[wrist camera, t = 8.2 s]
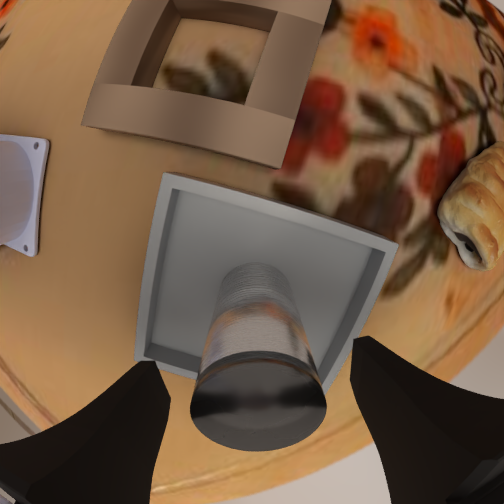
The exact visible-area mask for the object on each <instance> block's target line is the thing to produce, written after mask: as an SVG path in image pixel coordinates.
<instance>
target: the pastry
mask: <svg viewBox="0 0 504 504" xmlns="http://www.w3.org/2000/svg"><path fill="white" fill-rule="evenodd" d="M437 215H438V217H439V219H440V225H441V227H442V228H443V230H444V232H445V234H446V235H447V236H448V237H449V238H450V239H451V241H452V242H453V243H454V244H456V245H457V247H458V250H459V254H460V256H461V258H462V260H463V261H464V263H465V264H466V265H467V266H469V267H470V268H472V269H475V270H479V271H489V270H491V269H493V268H494V267H495V266H496V263H497V261H496V260H497V259H498V258H499V257H500V256H501V255H502V253H503V252H504V142H502V141H498V142H496V143H495V144H494V145H492V146H490V147H489V148H487V149H484V150H483V151H482V153H480V154H479V155H478V156H476V157H475V158H472V159H470V160H469V161H468V162H467V165H466V168H465V169H464V170H463V171H462V172H461V173H460V175H459V176H458V177H457V178H456V180H455V181H453V183H452V184H451V186H450V187H449V188H448V190H447V192H446V193H445V194H444V196H443V198H442V200H441V202H440V204H439V207H438V211H437Z"/></svg>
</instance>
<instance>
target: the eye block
mask: <svg viewBox="0 0 504 504" xmlns="http://www.w3.org/2000/svg"><path fill="white" fill-rule="evenodd" d="M330 4H331V0H132V1H131V3H130V5H129V7H128V8H127V10H126V12H125V14H124V16H123V18H122V20H121V21H120V23H119V25H118V27H117V29H116V32H115V34H114V36H113V38H112V40H111V42H110V44H109V47H108V49H107V51H106V53H105V56H104V58H103V61H102V63H101V66H100V68H99V71H98V73H97V76H96V79H95V81H94V84H93V87H92V90H91V93H90V96H89V99H88V102H87V105H86V109H85V112H84V115H83V119H82V122H81V125H82V126H87V127H91V128H96V129H101V130H106V131H112V132H119V133H125V134H131V135H136V136H142V137H147V138H152V139H158V140H162V141H167V142H172V143H177V144H181V145H186V146H190V147H194V148H199V149H203V150H207V151H211V152H215V153H219V154H223V155H227V156H231V157H234V158H238V159H242V160H245V161H249V162H252V163H256V164H259V165H263V166H266V167H269V168H273V169H281V166H282V162H283V159H284V156H285V153H286V149H287V146H288V143H289V139H290V136H291V133H292V130H293V126H294V123H295V120H296V116H297V113H298V110H299V107H300V103H301V100H302V97H303V93H304V90H305V87H306V83H307V80H308V77H309V73H310V70H311V67H312V64H313V60H314V57H315V54H316V50H317V47H318V44H319V40H320V37H321V34H322V30H323V27H324V24H325V20H326V17H327V14H328V10H329V7H330ZM181 18H191V19H201V20H210V21H217V22H224V23H230V24H236V25H241V26H246V27H251V28H256V29H260V30H265V31H269V32H270V34H269V36H268V39H267V42H266V44H265V47H264V50H263V53H262V55H261V58H260V61H259V64H258V67H257V70H256V72H255V75H254V78H253V81H252V84H251V87H250V90H249V93H248V96H247V99H246V102H245V105H241V104H237V103H233V102H228V101H224V100H219V99H215V98H210V97H205V96H200V95H195V94H189V93H184V92H178V91H171V90H164V89H157V88H152V86H153V83H154V80H155V78H156V75H157V72H158V70H159V67H160V65H161V62H162V60H163V57H164V55H165V52H166V50H167V48H168V45H169V43H170V41H171V39H172V36H173V34H174V32H175V30H176V28H177V26H178V23H179V21H180V19H181Z"/></svg>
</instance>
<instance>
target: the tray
mask: <svg viewBox="0 0 504 504" xmlns="http://www.w3.org/2000/svg"><path fill="white" fill-rule="evenodd" d="M398 246H399V244H397V243H395V242H393V241H391V240H390V239H388V238H386V237H384V236H382V235H379V234H377V233H374V232H371V231H369V230H366V229H363V228H360V227H357V226H355V225H352V224H349V223H346V222H343V221H340V220H337V219H334V218H331V217H329V216H326V215H323V214H320V213H317V212H313V211H310V210H307V209H304V208H301V207H298V206H295V205H292V204H288V203H285V202H282V201H279V200H275V199H272V198H269V197H265V196H262V195H259V194H255V193H252V192H248V191H245V190H241V189H238V188H234V187H230V186H227V185H223V184H219V183H216V182H212V181H208V180H204V179H201V178H197V177H193V176H189V175H185V174H181V173H177V172H163V176H162V180H161V185H160V189H159V193H158V197H157V202H156V206H155V211H154V216H153V221H152V226H151V231H150V236H149V241H148V247H147V253H146V259H145V265H144V271H143V278H142V285H141V293H140V301H139V309H138V318H137V328H136V340H135V353H134V360H135V361H137V362H140V361H155V362H156V364H157V367H158V369H161V370H164V371H167V372H171V373H174V374H177V375H181V376H184V377H188V378H191V379H195V380H197V375H198V371H199V367H200V363H201V359H202V355H203V351H204V347H205V343H206V339H207V335H208V331H209V327H210V323H211V319H212V316H213V312H214V308H215V304H216V300H217V296H218V293H219V289H220V285H221V283H222V281H223V279H224V278H225V276H226V275H227V274H228V273H229V272H230V271H231V270H233V269H234V268H236V267H237V266H240V265H242V264H246V263H251V262H260V263H265V264H269V265H271V266H273V267H275V268H277V269H278V270H280V271H281V272H282V273H283V274H284V275H285V277H286V278H287V280H288V281H289V284H290V287H291V290H292V293H293V296H294V299H295V302H296V305H297V308H298V311H299V314H300V317H301V321H302V324H303V327H304V330H305V333H306V336H307V340H308V343H309V346H310V349H311V353H312V356H313V359H314V362H315V366H316V369H317V372H318V376H319V379H320V382H321V386H322V389H323V392H324V396H325V394H326V393H327V391H328V389H329V388H330V386H331V384H332V383H333V381H334V379H335V378H336V376H337V374H338V373H339V371H340V369H341V368H342V366H343V364H344V362H345V360H346V359H347V357H348V355H349V353H350V351H351V350H352V348H353V339H355V338H358V336H359V334H360V332H361V330H362V328H363V326H364V324H365V322H366V320H367V318H368V316H369V314H370V312H371V310H372V308H373V306H374V304H375V301H376V299H377V297H378V295H379V292H380V290H381V288H382V286H383V283H384V281H385V279H386V276H387V274H388V271H389V269H390V266H391V264H392V261H393V259H394V256H395V254H396V251H397V249H398Z"/></svg>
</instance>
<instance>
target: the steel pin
mask: <svg viewBox="0 0 504 504" xmlns="http://www.w3.org/2000/svg"><path fill="white" fill-rule="evenodd" d="M326 409H327V404H326V399H325V396H324V392H323V389H322V386H321V382H320V379H319V376H318V372H317V369H316V366H315V362H314V359H313V356H312V353H311V349H310V346H309V343H308V340H307V336H306V333H305V330H304V327H303V324H302V321H301V317H300V314H299V311H298V308H297V305H296V302H295V299H294V296H293V293H292V290H291V287H290V284H289V281H288V280H287V278H286V277H285V275H284V274H283V273H282V272H281V271H280V270H278V269H277V268H275V267H273V266H271V265H269V264H265V263H260V262H251V263H246V264H242V265H240V266H237V267H236V268H234V269H233V270H231V271H230V272H229V273H228V274H227V275H226V276H225V278H224V279H223V281H222V283H221V285H220V289H219V293H218V296H217V300H216V304H215V308H214V312H213V316H212V319H211V323H210V327H209V331H208V335H207V339H206V343H205V347H204V351H203V355H202V359H201V363H200V367H199V371H198V375H197V380H196V384H195V388H194V392H193V396H192V400H191V405H190V414H191V418H192V420H193V423H194V424H195V426H196V427H197V429H198V430H199V431H200V432H201V433H202V434H204V435H205V436H206V437H207V438H209V439H211V440H212V441H214V442H216V443H218V444H220V445H223V446H226V447H229V448H232V449H237V450H243V451H270V450H276V449H281V448H285V447H288V446H291V445H293V444H296V443H298V442H300V441H302V440H303V439H305V438H307V437H308V436H310V435H311V434H312V433H313V432H314V431H315V430H316V429H317V428H318V427H319V426H320V424H321V423H322V422H323V419H324V417H325V414H326Z"/></svg>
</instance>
